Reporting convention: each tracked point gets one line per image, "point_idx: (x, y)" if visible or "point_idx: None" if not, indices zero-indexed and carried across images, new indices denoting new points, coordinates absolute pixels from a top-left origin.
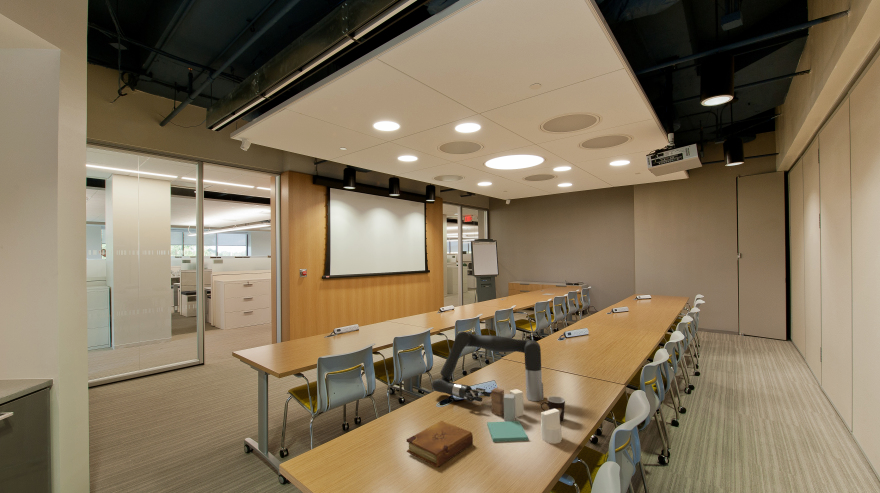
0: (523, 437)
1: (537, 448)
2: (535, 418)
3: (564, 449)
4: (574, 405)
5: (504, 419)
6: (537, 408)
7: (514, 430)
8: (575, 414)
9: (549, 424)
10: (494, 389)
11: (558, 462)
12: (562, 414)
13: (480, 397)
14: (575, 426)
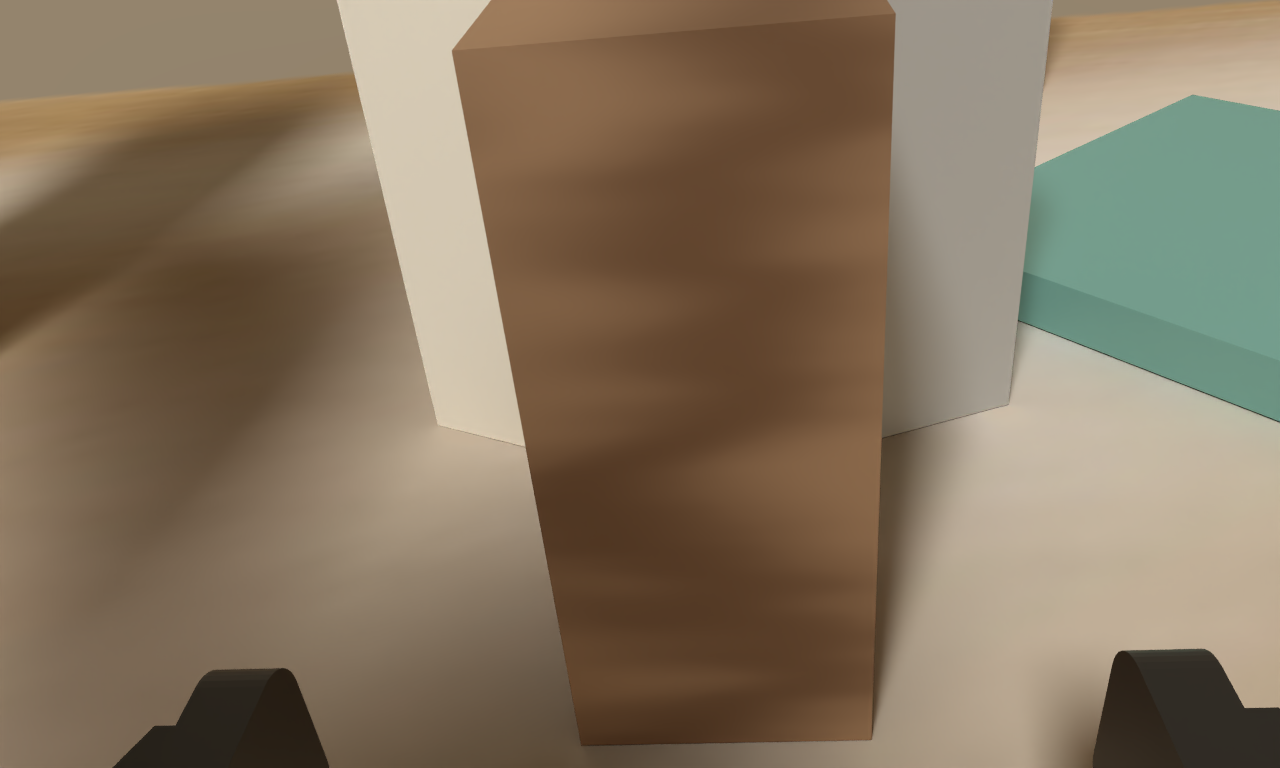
0: (1246, 108)
1: (1225, 80)
2: None
3: None
4: (23, 178)
5: (1010, 371)
6: (202, 315)
7: (1221, 172)
8: (282, 132)
9: None
10: (679, 18)
11: (1239, 10)
12: None
13: (1208, 691)
14: None
